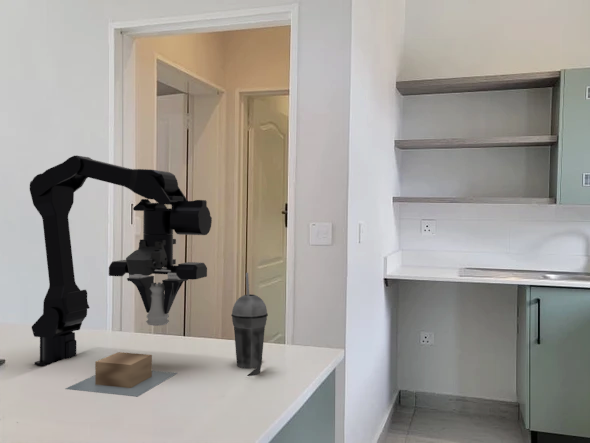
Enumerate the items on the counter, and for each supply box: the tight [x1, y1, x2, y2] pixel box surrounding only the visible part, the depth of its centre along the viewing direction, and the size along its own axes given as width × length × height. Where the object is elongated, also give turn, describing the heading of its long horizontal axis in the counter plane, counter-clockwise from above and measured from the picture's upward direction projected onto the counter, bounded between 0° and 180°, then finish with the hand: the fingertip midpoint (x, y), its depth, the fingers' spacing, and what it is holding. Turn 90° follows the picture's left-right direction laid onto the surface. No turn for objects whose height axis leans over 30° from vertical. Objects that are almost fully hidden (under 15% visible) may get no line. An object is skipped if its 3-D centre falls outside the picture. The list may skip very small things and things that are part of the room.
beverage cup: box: [231, 272, 268, 377], centre depth 109 cm, size 7×7×20 cm
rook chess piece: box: [145, 282, 170, 327], centre depth 108 cm, size 4×4×8 cm
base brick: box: [94, 351, 153, 388], centre depth 98 cm, size 7×7×4 cm
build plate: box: [64, 370, 178, 398], centre depth 98 cm, size 14×14×2 cm
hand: (157, 313), depth 108 cm, fingers closed on rook chess piece, 3 cm apart
